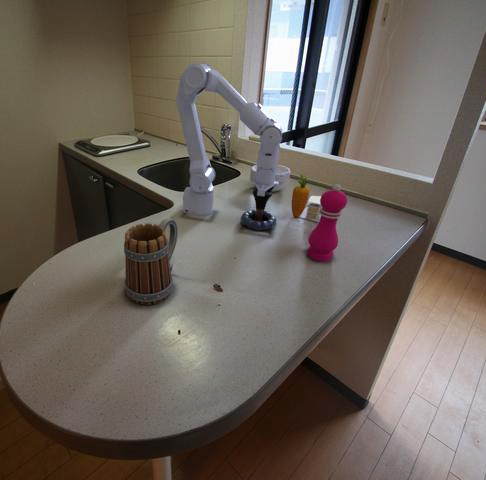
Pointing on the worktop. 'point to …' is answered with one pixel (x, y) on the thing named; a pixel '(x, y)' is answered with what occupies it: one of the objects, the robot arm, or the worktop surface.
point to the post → (258, 218)
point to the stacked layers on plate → (312, 209)
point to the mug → (149, 261)
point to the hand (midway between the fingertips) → (260, 209)
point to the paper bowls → (280, 177)
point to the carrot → (300, 197)
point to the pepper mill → (327, 225)
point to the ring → (255, 224)
